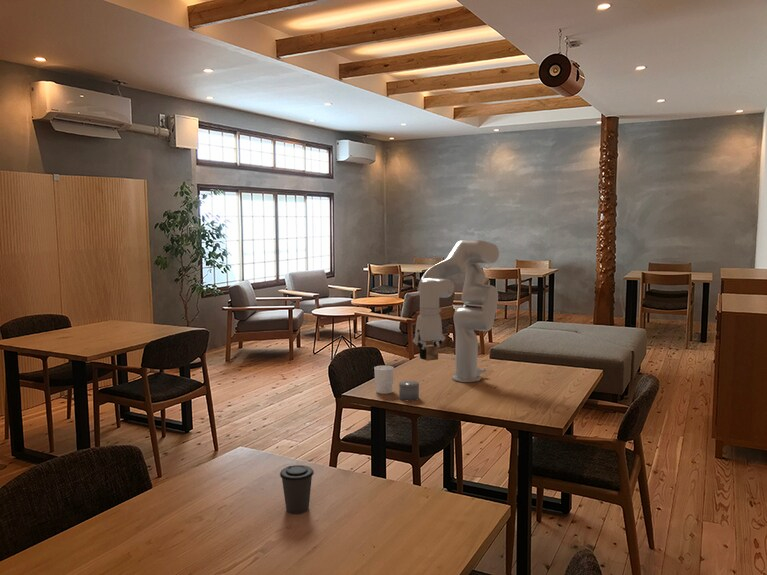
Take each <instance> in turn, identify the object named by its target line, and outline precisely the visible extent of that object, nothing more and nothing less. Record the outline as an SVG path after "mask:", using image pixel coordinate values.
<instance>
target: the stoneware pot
mask: <svg viewBox="0 0 767 575" xmlns="http://www.w3.org/2000/svg"><path fill="white" fill-rule="evenodd" d="M398 388H399V390H398V392H399V395H398V396H399V398H400V399H399V398H398V399H399V400H401V399H402V400H401V401H404V400H408V401H407V402H413V401H412V400H415V401H417V399H418V400H419V398H420V397H419V396H420V382H418V381H415V380H402V381H400V382H399V383H398Z"/></svg>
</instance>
